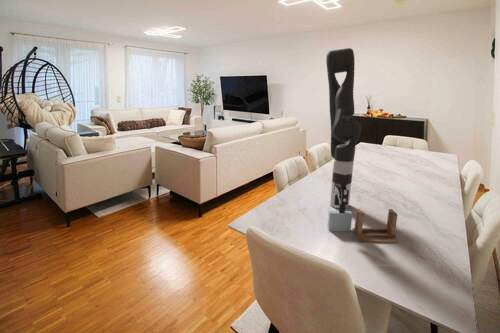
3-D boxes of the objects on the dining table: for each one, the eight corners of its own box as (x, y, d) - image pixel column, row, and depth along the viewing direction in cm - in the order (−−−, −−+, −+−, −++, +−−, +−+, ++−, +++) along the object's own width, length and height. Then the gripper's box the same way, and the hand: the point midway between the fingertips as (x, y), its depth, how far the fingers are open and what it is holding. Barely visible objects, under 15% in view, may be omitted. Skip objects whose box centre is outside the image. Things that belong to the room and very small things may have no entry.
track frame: (352, 230, 123) (354, 206, 120) (386, 230, 122) (389, 206, 119) (359, 242, 113) (362, 216, 110) (396, 242, 113) (400, 217, 110)
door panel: (327, 228, 125) (328, 210, 123) (348, 228, 124) (350, 211, 122) (328, 230, 122) (330, 213, 120) (350, 231, 122) (352, 213, 120)
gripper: (329, 166, 124) (326, 202, 128) (337, 175, 110) (333, 215, 114) (347, 166, 124) (344, 202, 128) (357, 176, 110) (353, 216, 114)
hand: (339, 208), depth 121 cm, fingers open, 8 cm apart
